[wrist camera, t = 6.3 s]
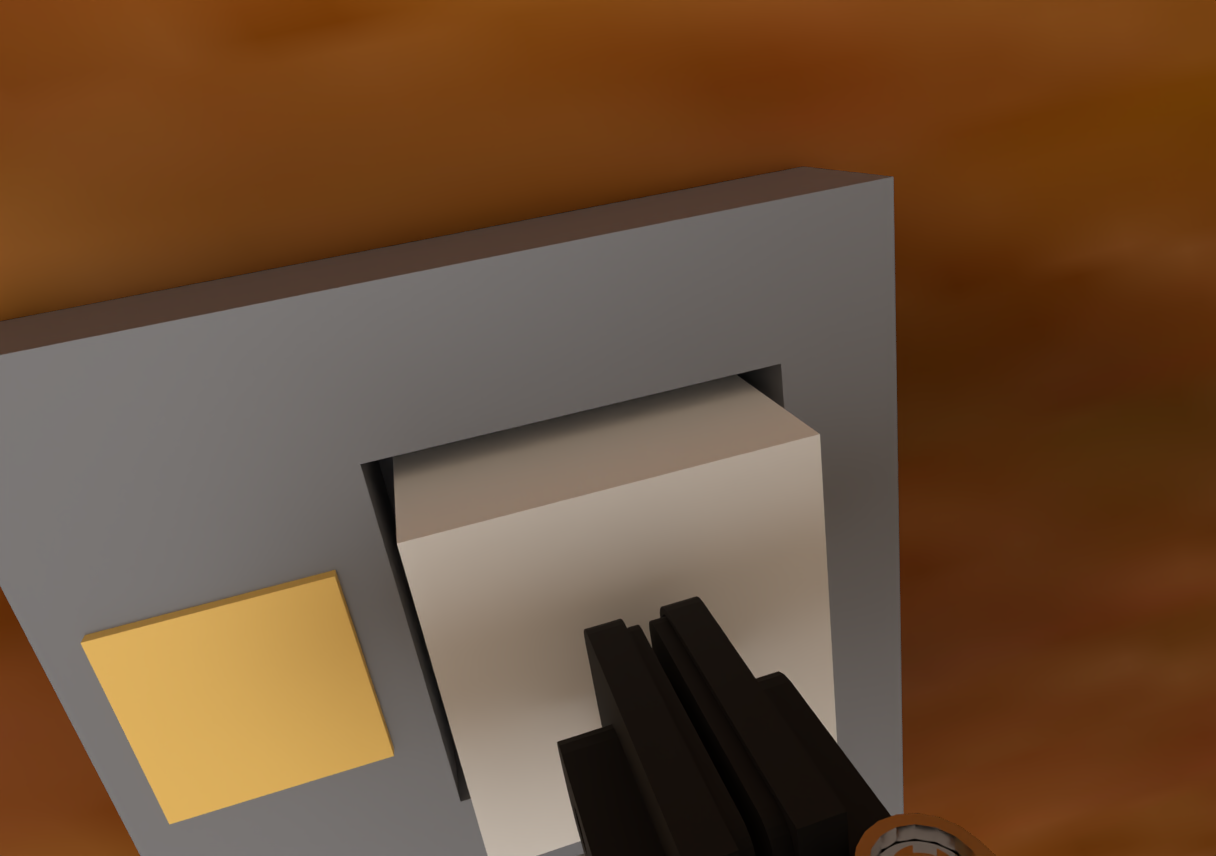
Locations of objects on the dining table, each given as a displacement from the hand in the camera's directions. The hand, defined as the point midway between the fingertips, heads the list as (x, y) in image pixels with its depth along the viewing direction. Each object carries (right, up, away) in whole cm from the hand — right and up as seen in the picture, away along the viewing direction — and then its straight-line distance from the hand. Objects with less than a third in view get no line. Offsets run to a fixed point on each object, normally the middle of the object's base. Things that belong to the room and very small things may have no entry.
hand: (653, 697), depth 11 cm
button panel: (-1, -7, +8) cm, 11 cm away
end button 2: (-1, +1, +3) cm, 4 cm away
